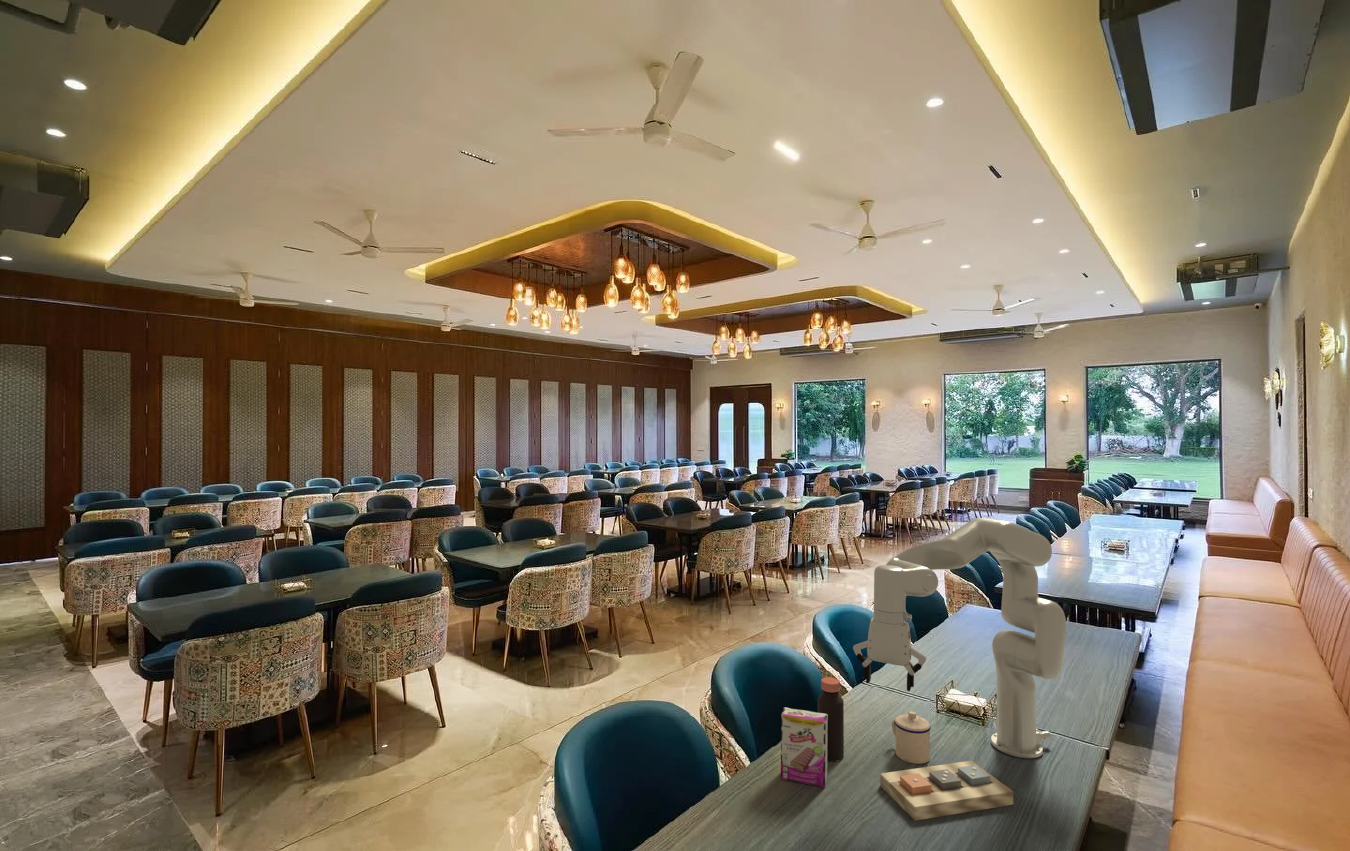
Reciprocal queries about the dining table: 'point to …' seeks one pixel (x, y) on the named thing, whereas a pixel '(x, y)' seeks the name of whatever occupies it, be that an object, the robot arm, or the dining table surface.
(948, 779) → the key three
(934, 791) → the wooden puzzle board
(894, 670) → the dining table surface
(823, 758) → the candy bar box
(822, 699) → the bottle
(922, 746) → the teacup with lid
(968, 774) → the key two
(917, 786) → the key one
